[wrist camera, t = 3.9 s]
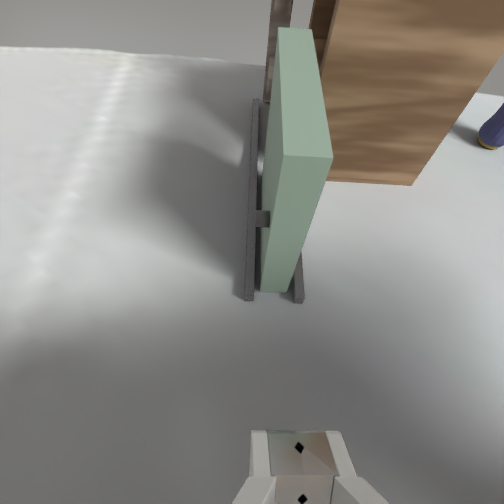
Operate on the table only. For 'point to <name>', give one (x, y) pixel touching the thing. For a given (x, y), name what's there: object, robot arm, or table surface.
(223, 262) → the table surface
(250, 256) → the door track
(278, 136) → the cabinet door
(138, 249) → the table surface
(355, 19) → the walnut cabinet
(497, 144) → the rubber mallet
